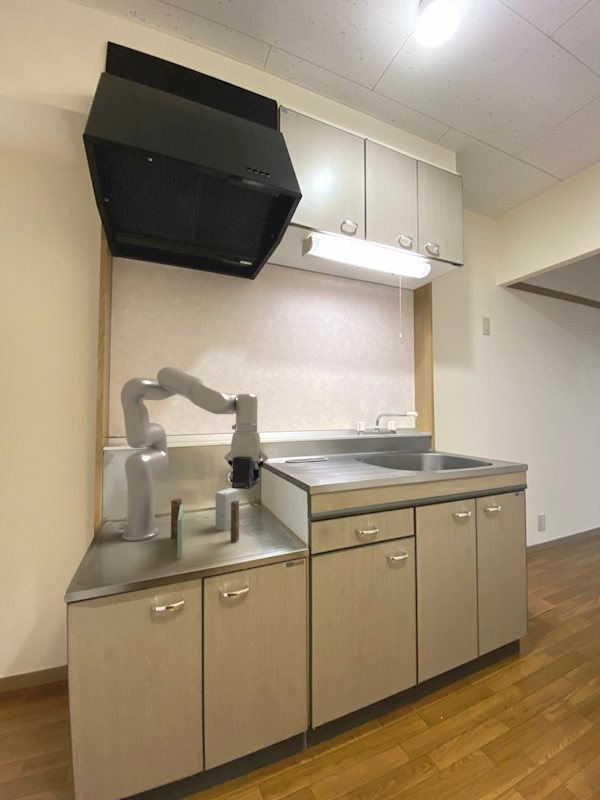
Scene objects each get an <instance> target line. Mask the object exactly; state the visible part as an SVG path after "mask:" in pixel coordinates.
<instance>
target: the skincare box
mask: <svg viewBox="0 0 600 800" xmlns="http://www.w3.org/2000/svg"><path fill="white" fill-rule="evenodd" d="M233 501H239V502H240V489H238V488H232V487H228V488H225V489H223V490H219V491H216V492H215V528H216V529H217V530H221V531H224V532H226V531H229V530H231V503H232V502H233Z"/></svg>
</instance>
